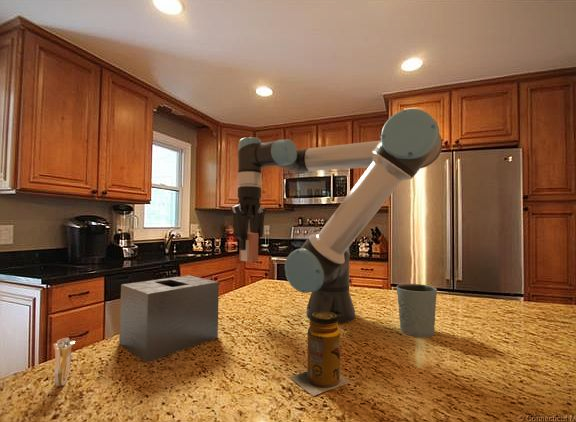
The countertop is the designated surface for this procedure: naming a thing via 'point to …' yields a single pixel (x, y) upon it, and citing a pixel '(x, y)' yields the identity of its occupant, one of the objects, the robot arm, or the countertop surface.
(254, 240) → the block
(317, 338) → the condiment
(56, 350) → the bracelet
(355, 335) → the countertop surface
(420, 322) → the grey cup
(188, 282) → the coin box
